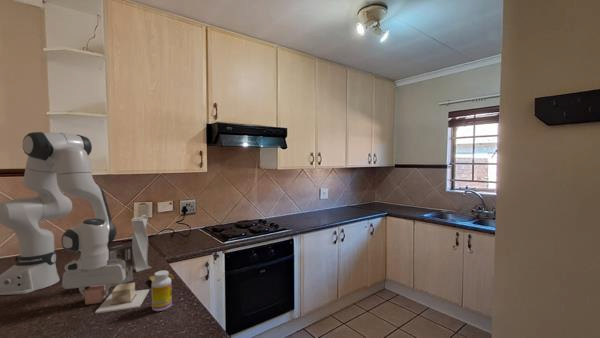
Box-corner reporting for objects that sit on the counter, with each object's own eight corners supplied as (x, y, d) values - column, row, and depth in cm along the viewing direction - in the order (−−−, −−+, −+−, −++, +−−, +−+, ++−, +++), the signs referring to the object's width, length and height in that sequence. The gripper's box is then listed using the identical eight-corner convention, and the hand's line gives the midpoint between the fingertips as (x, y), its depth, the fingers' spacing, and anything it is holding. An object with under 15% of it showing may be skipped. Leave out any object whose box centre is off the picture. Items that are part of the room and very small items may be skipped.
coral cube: (85, 304, 103) (84, 291, 102) (91, 298, 107) (91, 285, 107) (100, 302, 104) (100, 289, 104) (105, 296, 109) (105, 284, 109)
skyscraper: (153, 269, 138) (152, 214, 137) (135, 274, 132) (134, 216, 131) (147, 265, 144) (146, 212, 143) (129, 269, 137) (128, 214, 137)
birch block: (112, 304, 101) (112, 291, 101) (117, 297, 107) (117, 284, 107) (130, 302, 103) (130, 289, 103) (135, 294, 109) (134, 282, 108)
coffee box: (128, 277, 127) (127, 243, 127) (133, 280, 123) (132, 245, 123) (105, 283, 120) (104, 247, 120) (110, 288, 116) (109, 250, 116)
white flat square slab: (95, 313, 96) (95, 311, 96) (110, 295, 110) (110, 293, 110) (139, 307, 100) (139, 305, 100) (149, 290, 114) (149, 289, 114)
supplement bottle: (173, 308, 99) (172, 273, 99) (152, 314, 96) (152, 278, 96) (170, 300, 105) (170, 268, 105) (151, 305, 101) (150, 271, 101)
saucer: (169, 276, 129) (169, 271, 129) (174, 282, 123) (174, 277, 123) (148, 281, 123) (148, 276, 123) (153, 287, 117) (153, 283, 117)
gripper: (128, 255, 111) (128, 289, 112) (68, 261, 106) (69, 296, 106) (122, 261, 105) (123, 296, 105) (59, 266, 100) (60, 304, 100)
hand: (95, 296), depth 106 cm, fingers closed on coral cube, 5 cm apart
